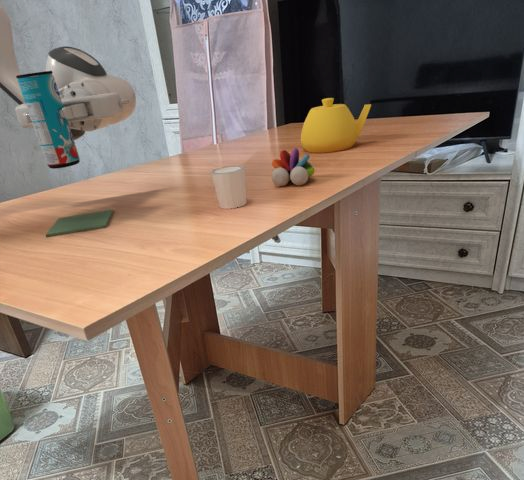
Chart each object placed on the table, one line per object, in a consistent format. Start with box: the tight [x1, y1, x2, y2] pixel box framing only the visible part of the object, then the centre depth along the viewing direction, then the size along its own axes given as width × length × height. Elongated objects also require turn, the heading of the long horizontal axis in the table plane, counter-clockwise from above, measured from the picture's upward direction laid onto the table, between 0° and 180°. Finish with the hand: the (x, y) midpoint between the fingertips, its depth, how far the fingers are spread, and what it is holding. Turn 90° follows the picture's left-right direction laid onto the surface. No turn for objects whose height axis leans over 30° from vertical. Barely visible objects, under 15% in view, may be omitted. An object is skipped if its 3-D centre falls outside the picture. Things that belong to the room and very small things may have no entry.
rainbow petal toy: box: [271, 147, 316, 187], centre depth 104 cm, size 8×10×7 cm
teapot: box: [300, 97, 372, 154], centre depth 133 cm, size 20×19×13 cm
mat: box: [45, 208, 114, 238], centre depth 98 cm, size 12×12×1 cm
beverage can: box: [16, 70, 81, 169], centre depth 83 cm, size 6×6×15 cm
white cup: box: [210, 165, 247, 210], centre depth 94 cm, size 7×7×7 cm
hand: (44, 116), depth 82 cm, fingers closed on beverage can, 6 cm apart
